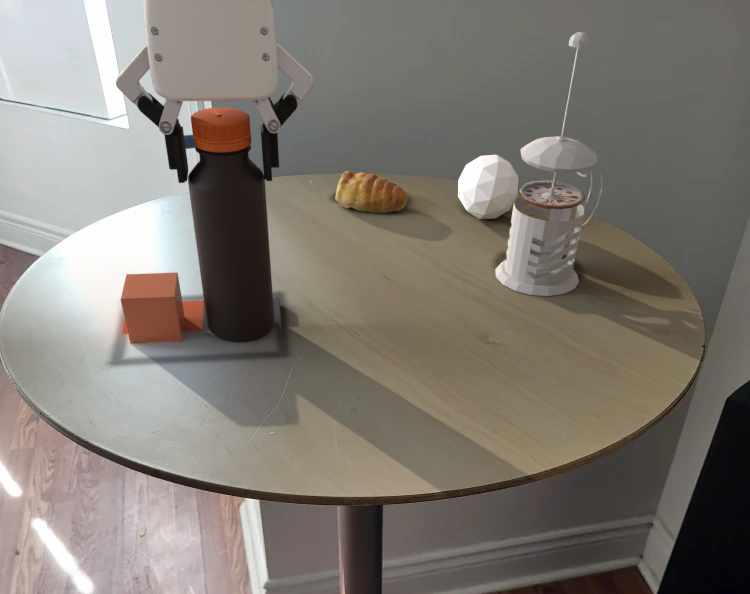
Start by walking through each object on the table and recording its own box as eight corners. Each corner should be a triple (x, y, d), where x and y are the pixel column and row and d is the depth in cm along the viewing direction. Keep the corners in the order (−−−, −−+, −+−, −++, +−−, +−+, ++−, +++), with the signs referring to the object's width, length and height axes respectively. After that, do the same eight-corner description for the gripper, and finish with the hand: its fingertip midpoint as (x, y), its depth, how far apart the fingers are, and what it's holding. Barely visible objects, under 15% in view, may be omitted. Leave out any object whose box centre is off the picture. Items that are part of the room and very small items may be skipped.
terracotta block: (130, 345, 76) (120, 298, 73) (135, 319, 80) (125, 274, 76) (182, 342, 77) (174, 296, 73) (184, 317, 80) (177, 272, 77)
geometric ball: (468, 231, 106) (453, 171, 105) (526, 213, 104) (512, 152, 103) (462, 224, 99) (447, 160, 98) (525, 204, 97) (509, 138, 95)
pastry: (412, 200, 106) (414, 172, 104) (399, 220, 102) (400, 191, 99) (347, 191, 108) (347, 163, 106) (331, 209, 103) (331, 181, 101)
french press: (478, 267, 92) (508, 25, 75) (554, 248, 97) (599, 15, 80) (529, 303, 86) (574, 49, 69) (608, 281, 90) (669, 37, 73)
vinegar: (193, 329, 78) (161, 117, 65) (237, 302, 82) (216, 98, 69) (245, 350, 76) (223, 134, 62) (288, 321, 80) (276, 114, 66)
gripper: (315, -77, 60) (320, 159, 73) (85, -81, 59) (130, 163, 71) (323, -62, 55) (327, 190, 67) (70, -66, 53) (121, 195, 65)
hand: (225, 174), depth 69 cm, fingers closed on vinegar, 6 cm apart
